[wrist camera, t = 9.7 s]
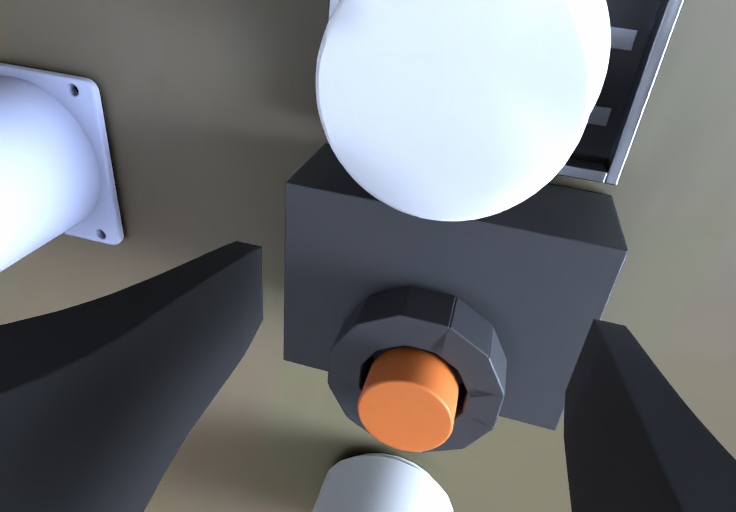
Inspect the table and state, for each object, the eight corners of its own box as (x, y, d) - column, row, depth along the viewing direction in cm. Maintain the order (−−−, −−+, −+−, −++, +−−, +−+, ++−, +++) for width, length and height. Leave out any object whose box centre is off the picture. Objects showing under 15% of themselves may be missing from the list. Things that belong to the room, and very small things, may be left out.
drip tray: (333, 121, 21) (322, 132, 20) (350, -161, 16) (336, -169, 15) (611, 170, 19) (616, 185, 18) (718, -131, 15) (734, -137, 13)
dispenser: (316, 320, 26) (265, 409, 21) (325, 142, 22) (262, 204, 17) (546, 376, 24) (549, 489, 19) (612, 195, 20) (638, 282, 15)
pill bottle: (420, -102, 16) (299, -144, 8) (615, -70, 15) (710, -80, 7) (388, 90, 19) (277, 205, 11) (549, 125, 18) (562, 279, 10)
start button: (366, 401, 20) (353, 437, 19) (374, 336, 19) (361, 370, 17) (450, 424, 20) (444, 463, 18) (467, 359, 18) (461, 396, 17)
